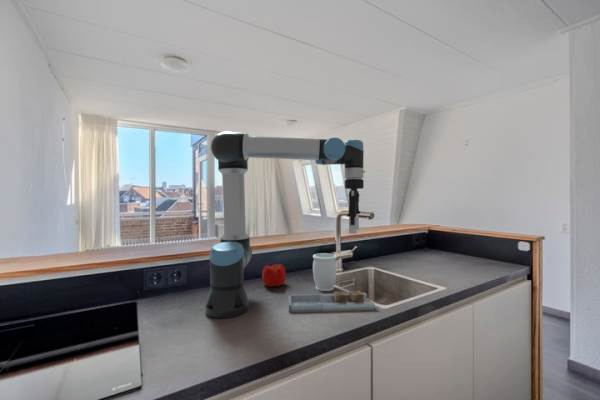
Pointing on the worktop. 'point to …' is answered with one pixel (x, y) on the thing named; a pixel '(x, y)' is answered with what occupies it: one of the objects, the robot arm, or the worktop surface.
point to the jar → (324, 271)
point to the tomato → (274, 275)
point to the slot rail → (325, 303)
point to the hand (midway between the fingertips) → (354, 231)
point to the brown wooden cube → (356, 296)
